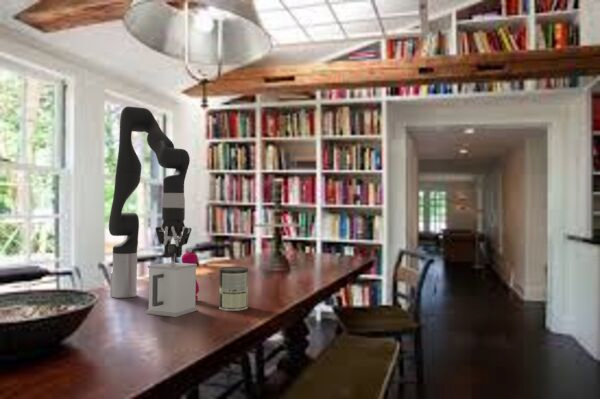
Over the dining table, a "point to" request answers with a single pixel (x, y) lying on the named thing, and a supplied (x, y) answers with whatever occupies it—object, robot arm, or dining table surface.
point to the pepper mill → (191, 259)
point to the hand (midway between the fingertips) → (173, 256)
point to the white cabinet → (172, 289)
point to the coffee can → (233, 288)
